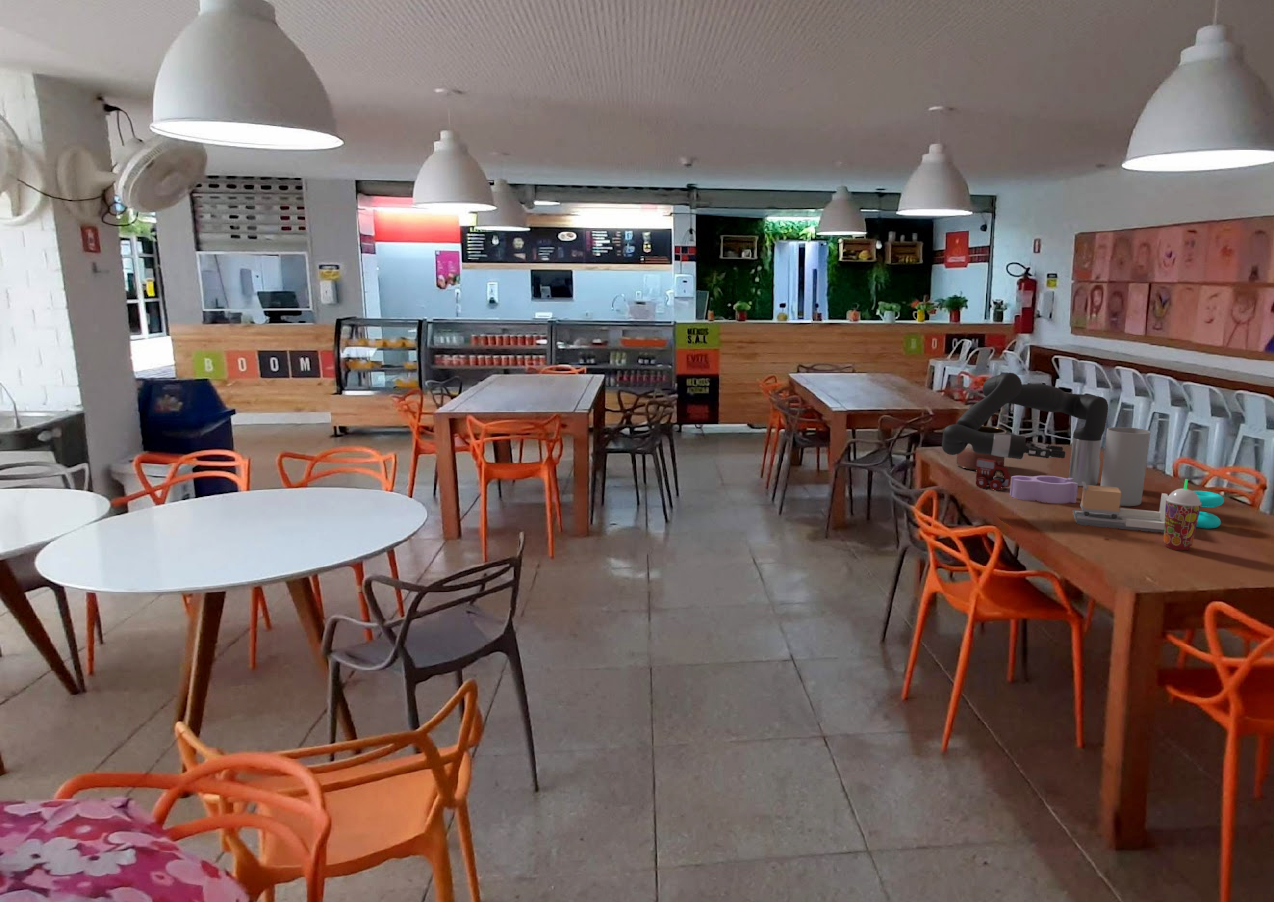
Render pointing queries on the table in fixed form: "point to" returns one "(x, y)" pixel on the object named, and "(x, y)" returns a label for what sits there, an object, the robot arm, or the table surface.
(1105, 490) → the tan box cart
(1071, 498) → the clip
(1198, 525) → the donuts
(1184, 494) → the smoothie
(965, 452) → the planter
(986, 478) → the toy fire truck
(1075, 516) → the dock
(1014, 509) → the table surface
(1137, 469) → the cylinder vase
